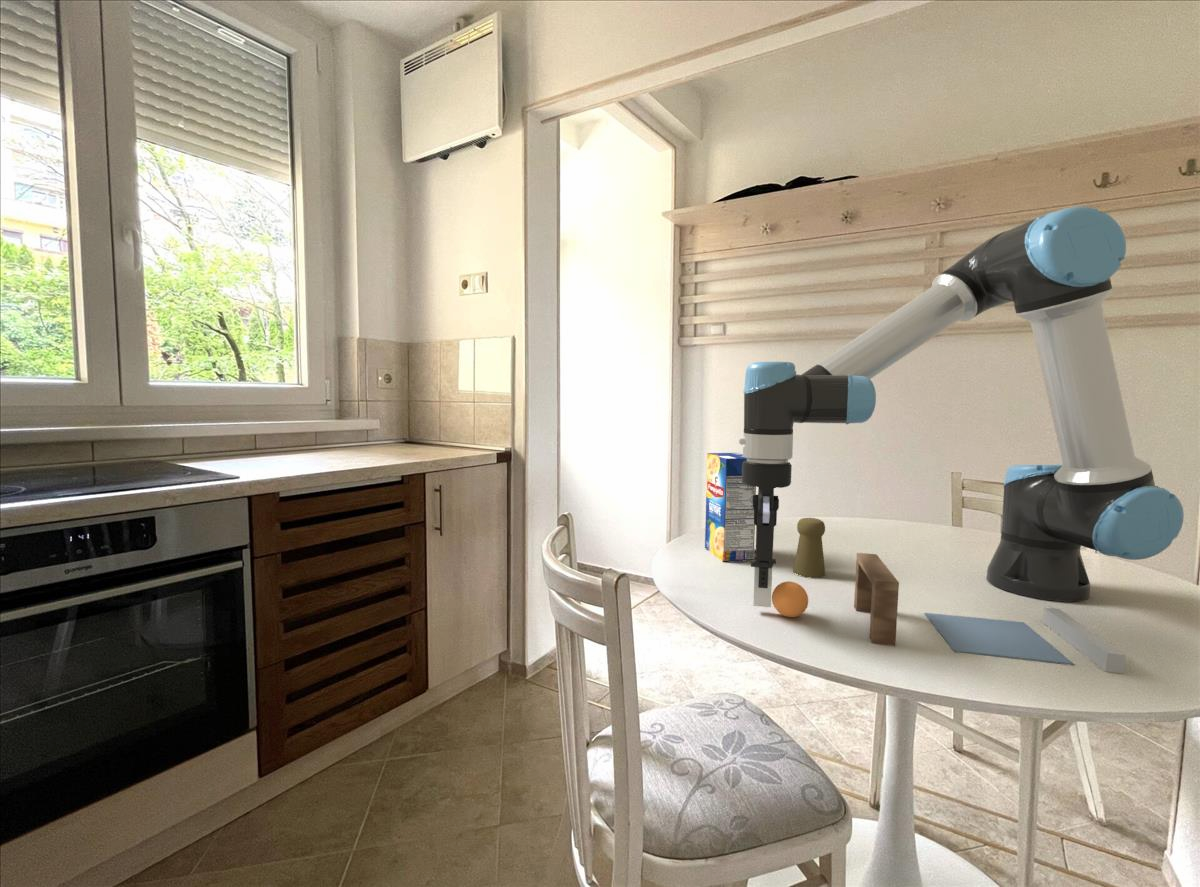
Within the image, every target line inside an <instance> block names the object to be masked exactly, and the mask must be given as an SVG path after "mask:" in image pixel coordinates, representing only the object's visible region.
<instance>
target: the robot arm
mask: <svg viewBox="0 0 1200 887" xmlns="http://www.w3.org/2000/svg"><path fill="white" fill-rule="evenodd" d="M1126 253H1127V242H1126V237H1125V234H1124V232H1123V229H1122V227H1121V226H1120V225H1119V223H1118V222H1117V220H1115V219H1114V218H1113V217H1112V216H1111V214H1108V213H1106V212H1103V211H1100V210H1099V209H1097V208H1096V207H1091V206H1082V205H1081V206H1080V205H1079V206H1070V207H1067V208H1063V209H1060V210H1056V211H1052V212H1048V213H1046V214H1044V215H1041V216H1039V217H1037V218H1035V219H1032V220H1030V221H1027V222H1025V223H1023V224H1020V225H1018V226H1016V227H1013V228H1011V229H1008V230H1004V231H1003V232H1000V233H997V234H995V235H994V236H992V237H989V239H987V240H985V241H984V242H982V243H981V244H979V245H978V246H977V247H975V248H974V249H973V250H971V251H969V252H968V253H967V254H966V255H965V256H963V257H961V259H959V260H957V261H956V262H955V263H953V265H951V266H950V267H948V268H947V269H945V270H944V271H943V272H941V273H940V274H938V275H937V276H936V277H935V278H934V279H933V280H932V284H931V287H929V288H927V289H926V290H924V291H923V292H922V293H921V294H919V295H917V296H915V297H914V298H913V299H912V300H910V301H909V302H907V303H905V304H904V305H903V306H901V307H900V308H898V309H897V310H895V311H893V312H892V313H890V314H889V315H887V316H886V317H885V318H883V319H882V320H880V321H879V322H877V323H876V324H874V325H873V326H871V327H870V328H869V329H867V330H866V331H864V332H862V333H861V334H859V335H858V336H857V337H855V338H853V339H852V340H851V341H849V342H848V343H847V344H845V345H844V346H842V347H840V348H839V349H838V350H837V349H836V351H834V352H832V354H830V355H828V356H827V357H826V358H824V359H822V360H821V361H819V362H818V363H816V364H815V365H814V366H813V367H811V368H808V370H806V371H805V372H802V374H797V371H796V366H795V364H794V363H793V362H791V361H756V362H752V363H749V365H748V366H747V367H746V370H745V379H744V390H743V401H744V402H743V437H744V438H743V437H742V438H739V440H738V443H739V445H741V446H742V445H744V446H743V447H742V455H743V456H744V457H745V458H747V460H745V461H744V462H743V463H742V482H743V483H744V484H745V485H748V486H756V488H758V489H757V490H758V491H757V492H758V493H757V494H756V495H753V508H754V524H755V530H756V531H755V534H756V535H755V536H756V537H755V549H754V556H755V557H754V561H750V567H751V568H752V567H753V568H754V572H753V573H754V576H753V606H755V607H765V608H772V587H773V586H772V585H773V566H774V565H776V564H777V560H776V559H775V558H774V557H773V556H774V536H775V534H774V533H775V531H774V530H775V527H776V526H777V521H778V517H777V516H778V511H779V508H780V498H779V496H778V495H775V494H774V493H775V492H774V491H775V488H779V489H780V488H781V489H782V488H786V487H787V488H788V487H789V486H790V485H791V484H792V464H791V462H789V460H791V459H792V458H793V454H794V453H793V450H794V449H793V447H794V428H793V427H794V423H796V424H803V423H805V424H806V423H809V424H810V423H811V424H812V423H813V424H845V425H849V424H863V423H865V422H867V421H868V420H869V419H871V417H872V416H873V414H874V411H875V408H876V404H877V403H876V402H877V393H876V388H875V385H874V383H873V381H872V380H871V379H873V378H875V377H876V376H877V375H879V374H880V373H882V372H883V371H885V370H886V369H888V368H890V367H891V366H893V365H895V364H896V363H897V362H899V361H900V360H902V359H903V358H904V357H906V356H908V355H909V354H911V353H912V352H913V351H915V350H917V349H918V348H919V347H921V346H923V345H924V344H926V343H928V341H930V340H931V339H933V338H935V337H936V336H938V335H940V334H941V333H942V332H944V331H945V330H946V329H948V328H950V327H951V326H952V325H954V324H955V323H957V322H959V321H960V322H969V321H971V320H973V319H974V318H975V317H977V316H978V315H980V314H981V313H984V312H986V311H988V310H990V309H993V308H996V307H998V306H1001V305H1005V304H1008V303H1012V302H1013V306H1014V312H1015V315H1016V316H1017V317H1019V318H1021V319H1023V320H1025V321H1028V322H1029V323H1030V325H1031V330H1032V334H1033V339H1034V343H1035V347H1036V351H1037V356H1038V360H1039V364H1040V369H1041V373H1042V378H1043V382H1044V387H1045V391H1046V395H1047V399H1048V400H1047V401H1048V404H1049V408H1050V414H1051V416H1052V421H1053V425H1054V431H1055V434H1056V435H1055V436H1056V439H1057V443H1058V447H1059V448H1058V449H1059V453H1060V455H1061V456H1060V457H1061V460H1062V461H1061V462H1062V464H1015V465H1011V466H1010V467H1009V468H1008V469H1006V472H1005V477H1004V482H1003V485H1002V487H1003V496H1002V497H1003V499H1002V500H1003V501H1002V513H1001V514H1002V516H1001V530H1000V531H1001V533H1000V540H999V544H998V546H997V548H996V550H995V552H994V554H993V556H992V558H991V560H990V562H989V564H988V566H987V570H986V580H987V582H988V583H989V584H991V585H992V586H994V587H997V588H999V589H1001V590H1003V591H1007V592H1009V593H1010V592H1011V593H1013V594H1016V595H1021V596H1025V597H1030V598H1034V599H1035V598H1036V599H1041V600H1047V601H1055V602H1057V601H1058V602H1082V601H1086V600H1088V599H1089V598H1090V594H1091V582H1090V579H1089V576H1088V573H1087V570H1086V566H1085V563H1084V561H1083V558H1082V555H1081V547H1084V548H1087V549H1091V550H1094V551H1096V552H1099V553H1100V554H1102V555H1105V556H1107V557H1116V558H1120V559H1125V560H1130V561H1136V560H1145V559H1148V558H1152V557H1154V556H1157V555H1158V554H1161V553H1162V552H1163V551H1165V550H1167V549H1168V548H1169V547H1170V546H1171V544H1172V543H1173V541H1174V540H1175V539H1176V538H1177V537H1178V536H1179V534H1180V533H1181V530H1182V527H1183V525H1184V516H1185V514H1184V508H1183V505H1182V503H1181V501H1180V499H1179V498H1178V497H1177V495H1176V494H1174V493H1171V492H1170V490H1167V489H1166V488H1164V487H1159V486H1158V485H1156V482H1155V479H1154V475H1153V471H1152V467H1151V465H1150V463H1148V462H1146V461H1144V460H1142V459H1140V458H1139V457H1136V456H1135V450H1134V446H1133V442H1132V439H1131V433H1130V428H1129V423H1128V420H1127V415H1126V409H1125V407H1124V400H1123V397H1122V393H1121V392H1122V391H1121V386H1120V383H1119V379H1118V374H1117V369H1116V364H1115V361H1114V356H1113V352H1112V351H1113V350H1112V347H1111V342H1110V337H1109V332H1108V329H1107V324H1106V319H1105V315H1104V314H1105V313H1104V310H1103V306H1102V305H1103V303H1104V301H1105V300H1106V299H1107V298H1108V297H1109V295H1111V293H1112V292H1113V285H1112V281H1111V277H1112V276H1114V274H1116V273H1117V272H1118V271H1119V269H1120V267H1121V266H1122V263H1121V261H1122V260H1124V259H1125V257H1126Z"/></svg>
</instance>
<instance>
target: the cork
mask: <svg viewBox="0 0 1200 887" xmlns="http://www.w3.org/2000/svg"><path fill="white" fill-rule="evenodd" d="M796 530H797V532H798V534H799V536H798V537H799V538H798V543H797V548H796V554H795V561H794V565H793V570H792V573H796V574H798V575H797V576H799V575H801V576H800V577H802V576H804V577H803V578H807V577H811V578H810V579H821V577H822V578H825V577H826V570H825V569H826V567H825V560H824V559H825V558H824V547H823V538H822V537H823V536H824V535H825V532H826V525H825V523H824V521H823V520H822V519H819V518H815V517H814V518H813V517H803V518H800V519H799V520H798V522H797V526H796ZM796 574H795V575H796Z"/></svg>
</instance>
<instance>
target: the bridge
mask: <svg viewBox="0 0 1200 887" xmlns="http://www.w3.org/2000/svg"><path fill="white" fill-rule="evenodd" d="M854 582H855V584H854V601H853V602H854V603H853V607H854V609H855V611H856V612H862V613H870V621H869V634H868V636H869V639H870V642H871V644H877V645H885V646H894V647H895V646H896V644H897V643H896V640H897V624H898V606H899V586H900V582H899V580H898V579H897V578H896V577H895V576H894V574H893V573H892V572H891V571H890V569H889V568H888V567H887V565H886V564H885V563H884V562H883V561H882V560H881V558H880V556H878V554H877V553H866V552H865V553H863V552H857V553H856V561H855V580H854Z"/></svg>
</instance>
